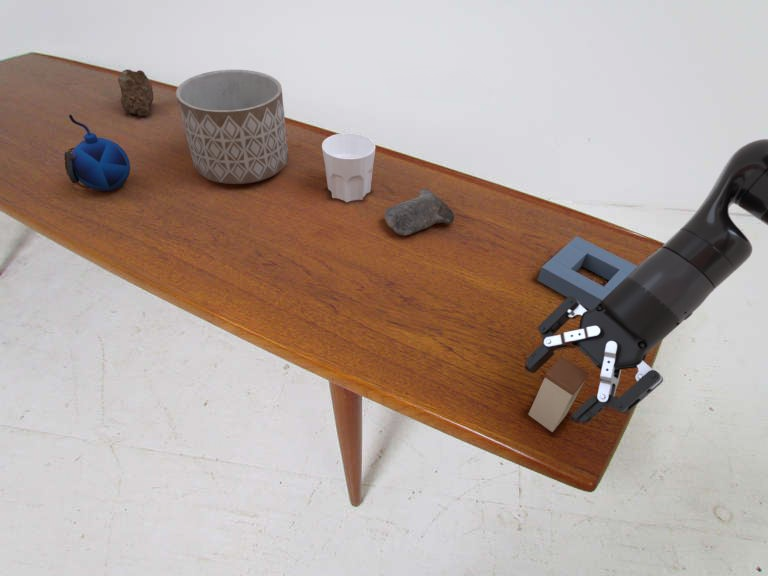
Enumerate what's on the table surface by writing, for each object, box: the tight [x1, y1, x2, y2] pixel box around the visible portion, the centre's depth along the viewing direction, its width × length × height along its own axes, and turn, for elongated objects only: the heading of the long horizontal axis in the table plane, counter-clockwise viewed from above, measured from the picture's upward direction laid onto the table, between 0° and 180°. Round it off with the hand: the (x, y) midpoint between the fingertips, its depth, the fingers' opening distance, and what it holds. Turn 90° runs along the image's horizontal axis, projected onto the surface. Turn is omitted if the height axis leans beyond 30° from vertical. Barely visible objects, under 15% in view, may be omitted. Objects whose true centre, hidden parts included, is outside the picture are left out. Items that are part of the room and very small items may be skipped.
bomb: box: [64, 114, 131, 192], centre depth 92 cm, size 10×11×15 cm
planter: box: [175, 69, 289, 185], centre depth 100 cm, size 19×19×16 cm
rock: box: [117, 69, 154, 118], centre depth 119 cm, size 10×6×10 cm
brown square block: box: [527, 356, 590, 433], centre depth 62 cm, size 4×4×9 cm
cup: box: [321, 132, 377, 203], centre depth 97 cm, size 10×10×10 cm
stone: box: [384, 188, 455, 237], centre depth 93 cm, size 12×5×10 cm
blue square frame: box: [536, 235, 639, 310], centre depth 83 cm, size 13×12×3 cm
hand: (550, 394), depth 60 cm, fingers open, 7 cm apart
